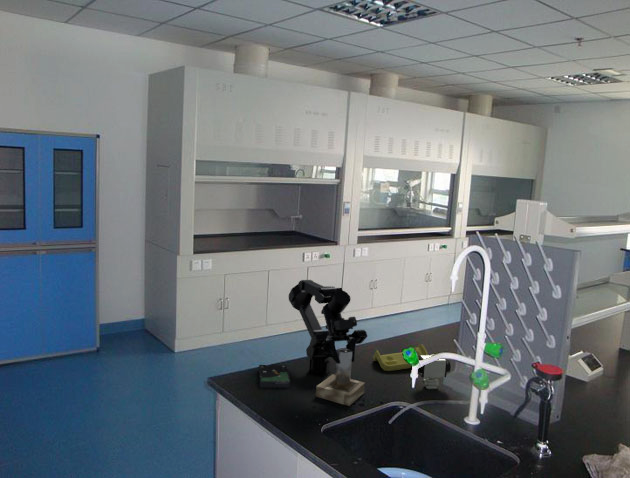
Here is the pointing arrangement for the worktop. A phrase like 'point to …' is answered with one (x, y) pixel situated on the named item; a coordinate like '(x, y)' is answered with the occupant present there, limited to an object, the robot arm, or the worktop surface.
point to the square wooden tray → (340, 390)
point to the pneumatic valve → (433, 371)
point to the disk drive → (274, 376)
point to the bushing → (343, 365)
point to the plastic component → (396, 359)
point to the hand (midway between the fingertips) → (345, 362)
